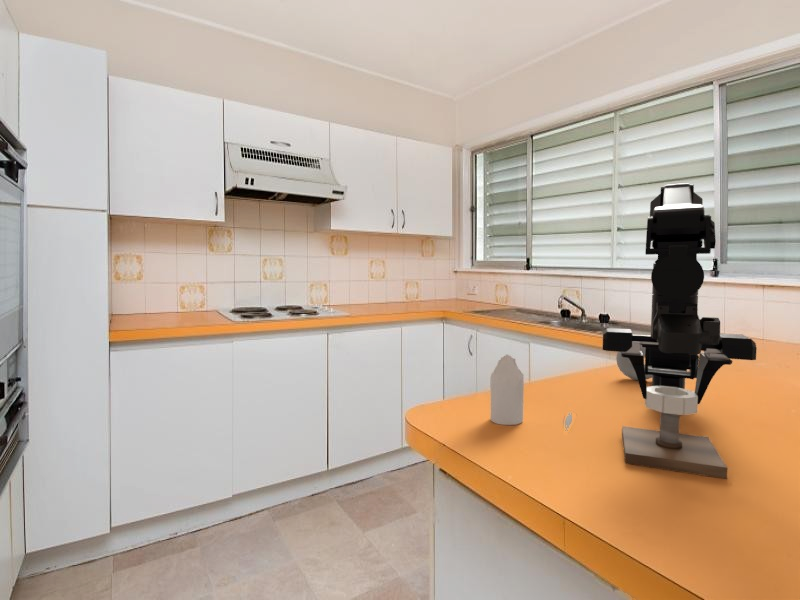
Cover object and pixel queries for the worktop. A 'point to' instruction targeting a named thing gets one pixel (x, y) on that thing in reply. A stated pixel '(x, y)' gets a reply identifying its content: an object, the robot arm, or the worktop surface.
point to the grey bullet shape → (507, 392)
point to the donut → (629, 366)
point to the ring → (671, 400)
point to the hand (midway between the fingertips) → (670, 400)
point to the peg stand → (672, 449)
